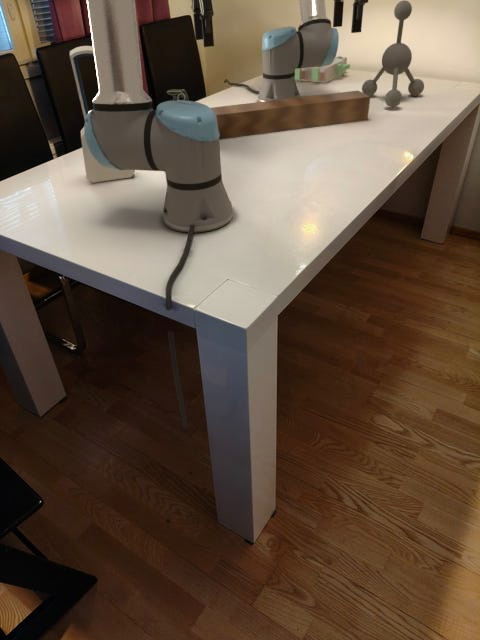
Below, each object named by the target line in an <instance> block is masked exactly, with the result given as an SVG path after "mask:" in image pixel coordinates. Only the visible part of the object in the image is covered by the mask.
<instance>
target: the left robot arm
mask: <svg viewBox="0 0 480 640" xmlns="http://www.w3.org/2000/svg"><path fill="white" fill-rule="evenodd" d="M86 4H87V11H88V19H89V26H90V27H89V28H90V33H91V41H92V42H91V43H92V46H93V49H94V57H93V58H94V64H95V70H96V78H97V86H98V92H97V93H96V95H95V97H94V98H93V99H92V109H91V110H89V112H88V114H87V115H86V118H85V119H84V122H85V121H86V123H84V126H83V127H84V131H85V138H86V142H87V145H88V148H89V150H90V152H91V154H92V156H93V157H94V159H95V160H97V162H98V163H99V164H100V165H102V166H104V167H106V168H113V169H118V170H135V171H149V172H151V171H152V172H164V174H165V180H166V190H165V191H166V192H165V196H164V203H163V207H162V218H163V222H164V224H165V226H167V227H168V228H169V229H171V230H173V231H177V232H180V233H188V234H187V238H186V242H185V246H184V249H183V252H182V255H181V257H180V259H179V261H178V263H177V265H176V266H175V268H174V269H173V270H172V272H171V273H170V275H169V277H168V279H167V283H166V285H165V309H166V311H171V310H172V308H173V305H172V303H173V301H172V288H173V287H172V286H173V284H174V280H175V279H176V276H178V274H179V272H180V271H181V270H182V268H183V266H184V264H185V263H186V259H187V257H188V254H189V251H190V248H191V245H192V240H193V236H194V234H195V233H196V234H197V233H205V232H206V233H207V232H210V231H215V230H216V229H220V228H222V227H224V226H226V225H227V224H228V223H230V221H231V220H232V218H233V216H234V212H233V211H234V210H233V205H232V201H231V200H230V197H229V195H228V192H227V190H226V187H225V184H224V182H223V175H222V174H223V173H222V161H221V159H222V158H221V147H220V146H221V145H220V139H219V137H220V134H219V130H218V124H217V117H216V114H215V112H214V111H213V110H212V109H211V108H212V107H209V106H208V105H206V104H205V103H201V102H197V101H193V100H189V101H187V100H186V99H185V100H177V101H172V100H167V101H163V102H160V103H159V104H158V105H157V106H156V109H154V106H153V99H152V98H151V97H150V96H149V94H147V93H146V91H145V89H144V83H143V71H142V62H141V52H140V50H141V49H140V40H139V30H138V19H137V8H136V7H137V6H136V0H86ZM190 8H191V11H192V15H193V26H194V38H195V41H199V40H202V41H203V48H209V47H215V40H214V26H213V25H214V23H213V17H214V15H215V13H214V9H213V2H212V0H190ZM167 337H168V344H169V345H168V347H169V353H170V360H171V368H172V374H173V379H174V385H175V390H176V395H177V400H178V407H179V411H180V417H181V422H182V428H183V429H184V430H187V429H188V428H189V425H188V417H187V413H186V408H185V407H186V406H185V401H184V396H183V390H182V385H181V379H180V373H179V367H178V358H177V352H176V344H175V333H174V331H171V330H167Z"/></svg>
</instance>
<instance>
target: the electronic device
mask: <svg viewBox="0 0 480 640" xmlns="http://www.w3.org/2000/svg"><path fill="white" fill-rule="evenodd" d="M82 57H93V58H95V57H94V49H93V45H81V46H77V47H75V48H73V49H71V50H69V60H70V63H71V67H72V72H73V76H74V80H75V84H76V89H77V94H78V97H79V98H78V99H79V102H80V105H81V110H82V115H83V119H84V124H86V121H85V118H86V115H87V114H88V112H89V111H90V110H89V106H88V101H87V98H86V93H85V89H84V84H83V80H82V75H81V70H80V65H79V62H78V59H79V58H82ZM80 141H81V148H82V155H83V162H84V163H83V164H84V170H85V177H86V179H87V180H88V181H89V182H91V183H92V184H95V183H101V182H107V181H115V180H122V179H128V178H133V176H134V174H135V173H136V170H118V169H113V168H106V167H104V166H102V165H100V164H99V163H98V162H97V160H95V159H94V157H93V156H92V154H91V152H90V150H89V148H88V145H87V142H86V138H85V131H84V126H83V127H82V128H81V130H80Z"/></svg>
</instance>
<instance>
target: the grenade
mask: <svg viewBox="0 0 480 640" xmlns="http://www.w3.org/2000/svg"><path fill="white" fill-rule="evenodd" d="M166 94H167V95H170V96H172V97H173V98H172V99H171V101H177V100H185V101H190V100H189V96H188V93H187V92H186V90H185V89H168V90H167V91H166Z"/></svg>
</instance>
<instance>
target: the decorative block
mask: <svg viewBox="0 0 480 640" xmlns="http://www.w3.org/2000/svg"><path fill="white" fill-rule="evenodd" d="M347 61H348V57H346V56H341V55H338V56H336V57H335V59H334V61H333V63H332V64H330V65H327V66H322V67H310V68H298V69H295V81H302V82H303V81H304V82H313V83H314V82H315V83H323V84H327V83H330V82H331V81H333V80H336V79H338V78H339V77H342V76H344V74H345V73H346V72H347V70H349V69H350V67H351V64H350V63H348V62H347Z"/></svg>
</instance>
